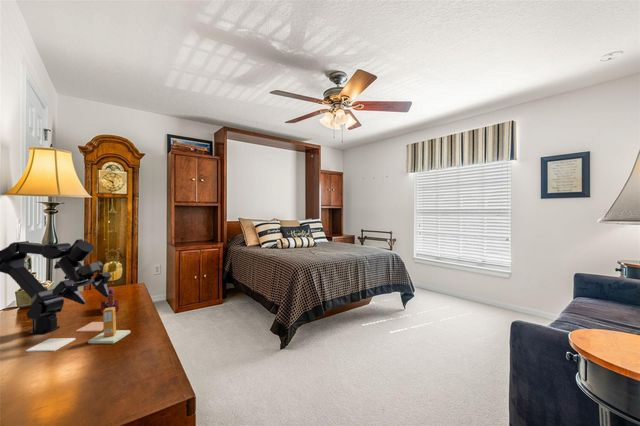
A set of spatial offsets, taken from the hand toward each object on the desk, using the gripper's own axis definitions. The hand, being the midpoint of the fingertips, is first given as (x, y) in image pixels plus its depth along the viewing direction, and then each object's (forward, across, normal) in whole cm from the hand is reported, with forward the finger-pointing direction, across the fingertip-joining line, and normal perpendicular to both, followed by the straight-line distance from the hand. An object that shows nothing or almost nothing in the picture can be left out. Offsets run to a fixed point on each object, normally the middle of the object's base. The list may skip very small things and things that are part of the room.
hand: (96, 300), depth 107 cm
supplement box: (+14, 0, +4) cm, 14 cm away
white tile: (+5, -9, +16) cm, 19 cm away
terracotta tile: (+4, +7, +16) cm, 18 cm away
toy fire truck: (-5, +25, +24) cm, 35 cm away
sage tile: (+14, 0, +5) cm, 15 cm away
